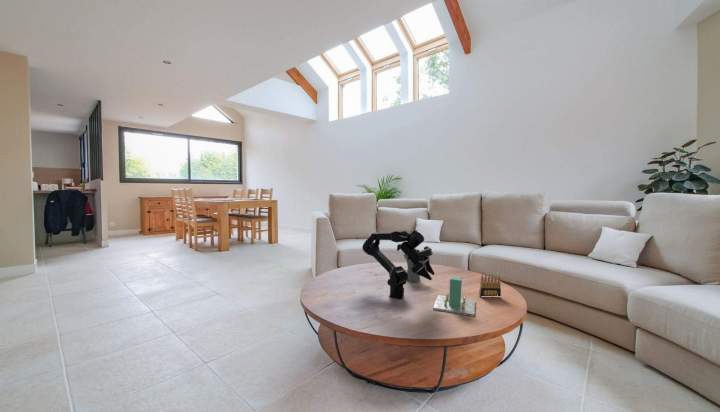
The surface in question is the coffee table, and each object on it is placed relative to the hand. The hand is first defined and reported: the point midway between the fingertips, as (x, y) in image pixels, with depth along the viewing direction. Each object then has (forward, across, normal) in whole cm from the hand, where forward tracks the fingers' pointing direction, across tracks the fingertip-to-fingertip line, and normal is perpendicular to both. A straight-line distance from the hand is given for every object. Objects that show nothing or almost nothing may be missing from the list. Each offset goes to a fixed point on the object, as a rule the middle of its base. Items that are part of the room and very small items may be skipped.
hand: (432, 276), depth 145 cm
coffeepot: (-1, +34, +20) cm, 40 cm away
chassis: (+17, +3, +2) cm, 17 cm away
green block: (+16, +3, +1) cm, 17 cm away
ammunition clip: (+29, +23, -9) cm, 38 cm away
